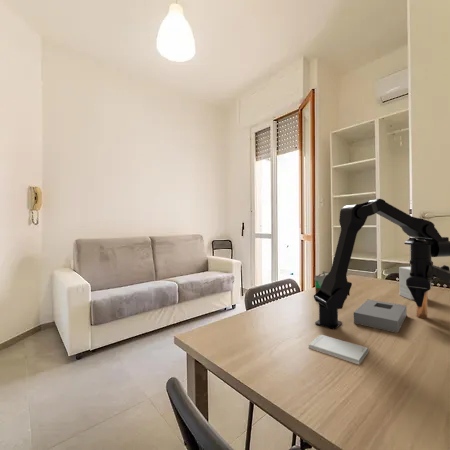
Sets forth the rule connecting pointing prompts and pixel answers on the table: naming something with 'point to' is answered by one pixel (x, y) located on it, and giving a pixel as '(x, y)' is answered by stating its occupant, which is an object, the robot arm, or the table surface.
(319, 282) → the food container
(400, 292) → the supplement box
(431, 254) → the robot arm
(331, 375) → the table surface
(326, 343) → the hard drive
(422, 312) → the pin
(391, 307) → the grey block with hole
